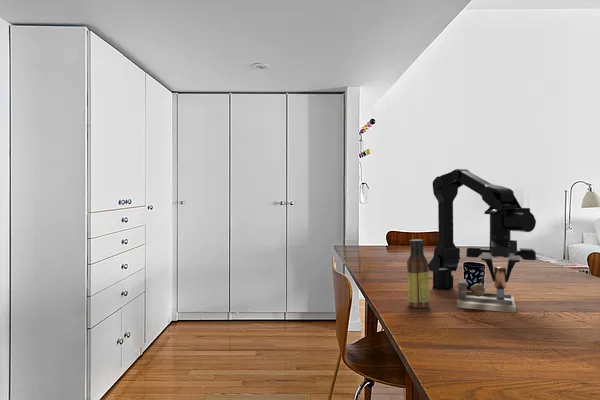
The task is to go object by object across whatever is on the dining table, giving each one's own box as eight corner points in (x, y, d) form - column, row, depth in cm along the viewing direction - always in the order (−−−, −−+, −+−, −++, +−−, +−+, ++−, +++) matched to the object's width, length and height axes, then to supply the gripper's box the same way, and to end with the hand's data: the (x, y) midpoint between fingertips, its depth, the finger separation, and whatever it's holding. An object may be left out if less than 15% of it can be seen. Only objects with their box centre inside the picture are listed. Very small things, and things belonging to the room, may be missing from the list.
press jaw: (494, 300, 132) (494, 268, 132) (494, 296, 137) (494, 265, 137) (506, 301, 130) (506, 269, 130) (505, 297, 136) (505, 266, 136)
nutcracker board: (457, 307, 131) (457, 285, 131) (460, 296, 146) (460, 276, 146) (515, 312, 125) (515, 289, 125) (513, 300, 140) (513, 279, 140)
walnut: (470, 297, 135) (470, 284, 135) (471, 294, 139) (471, 281, 139) (484, 298, 134) (484, 285, 134) (484, 295, 137) (484, 282, 137)
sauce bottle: (430, 304, 134) (430, 239, 134) (429, 309, 128) (429, 241, 128) (408, 303, 137) (408, 238, 136) (406, 308, 131) (405, 240, 131)
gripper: (465, 230, 130) (465, 284, 130) (537, 232, 123) (537, 289, 123) (467, 228, 140) (467, 277, 140) (534, 229, 133) (534, 282, 133)
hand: (500, 281), depth 134 cm, fingers closed on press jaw, 3 cm apart
